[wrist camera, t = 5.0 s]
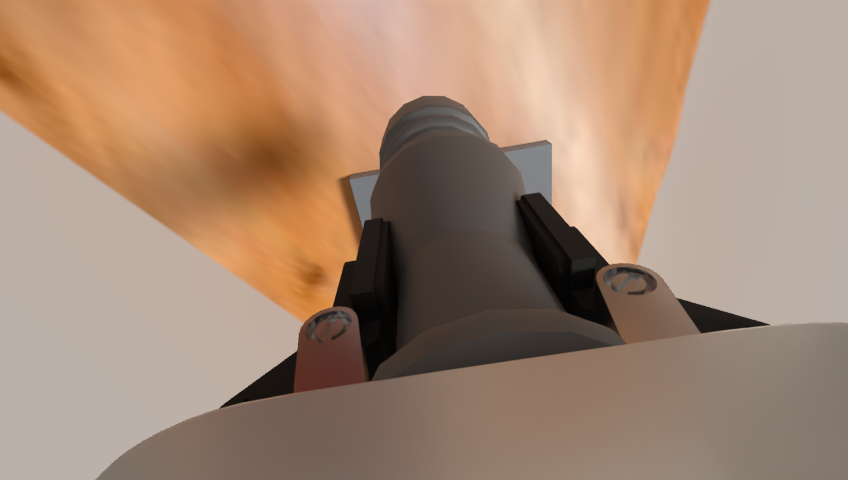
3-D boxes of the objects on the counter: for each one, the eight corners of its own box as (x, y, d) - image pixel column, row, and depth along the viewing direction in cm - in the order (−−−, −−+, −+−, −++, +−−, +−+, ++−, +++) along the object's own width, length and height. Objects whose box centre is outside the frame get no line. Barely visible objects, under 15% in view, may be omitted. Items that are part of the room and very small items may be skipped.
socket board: (546, 140, 37) (565, 153, 32) (546, 242, 43) (563, 266, 38) (351, 174, 38) (344, 192, 33) (377, 270, 43) (374, 297, 39)
